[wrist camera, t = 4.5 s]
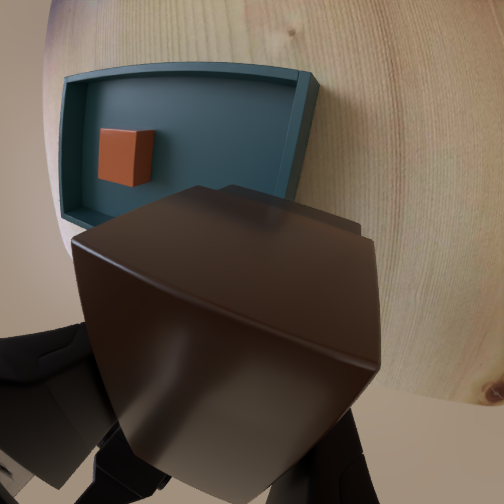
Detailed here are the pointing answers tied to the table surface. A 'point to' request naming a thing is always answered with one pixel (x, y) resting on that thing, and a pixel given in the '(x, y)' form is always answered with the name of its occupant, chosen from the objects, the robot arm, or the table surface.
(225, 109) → the tray
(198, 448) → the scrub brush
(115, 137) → the clay crumb
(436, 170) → the table surface
